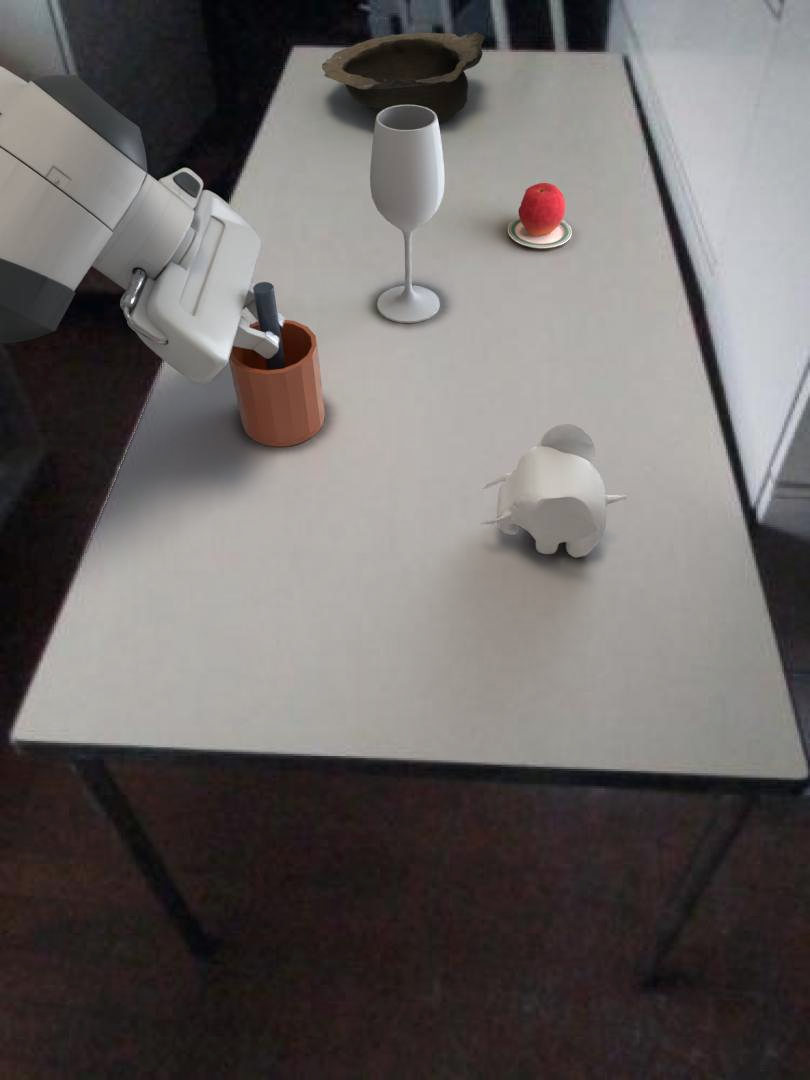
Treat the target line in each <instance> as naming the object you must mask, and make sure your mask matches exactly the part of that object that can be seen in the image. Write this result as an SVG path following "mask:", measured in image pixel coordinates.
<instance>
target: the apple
mask: <svg viewBox="0 0 810 1080" xmlns="http://www.w3.org/2000/svg"><path fill="white" fill-rule="evenodd" d="M517 211H518V217H517V218H515V219H513V220H512V221H511V222H509V224H508V226H507V234H508V236H509V238H510V239H511V240H513V241H514V242H515V243H517V244H519V245H521V246H525V247H528V248H533V249H550V248H556V247H559V246H562V245H563V244H564V245H565V243H567V242H568V241H569V240H570V239H571V237H572V233H573V231H572V227H571V225H570V224H568V222H566V221H565V220H563V219H564V216H565V213H566V201H565V197H564V194H563V192H562V191H561V190H560V189H559V187H558V186H557V185H555V184H552V183H549V182H539V183H537V184H533V185H530V186H529V187H528V188H526V189H525V192H524V194H523V197H522V200H521V201H520V206H519V207H518V210H517Z"/></svg>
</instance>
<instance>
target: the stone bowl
mask: <svg viewBox="0 0 810 1080" xmlns="http://www.w3.org/2000/svg"><path fill="white" fill-rule="evenodd" d="M484 40H486V39H485V36H484V34H481V33H479V32H477V31H476V32H474V33H471V34H467V33H466V34H465V33H464V34H463V35H462V36H458V35H457V34H455V33H449V32H447V33H440V32H439V33H437V32H415V33H399V34H388V35H383V36H381V37H375V38H371V39H368V40H365V41H362V42H358V43H356V44H354V45H352V46H349V47H346V48H343V49H341V50H337V51H336V52H334V53H333V54H332V55H331V57H330V58H327V59H326V60H325V61H324V62H323V63H321V69H322V71H324V75H323V76H324V77H326V78H328V79H331V80H333V81H335V82H338V83H339V84H343V85H345V88H346V89H347V93H349V95H350V96H351V98H352V99H354V101H356V102H357V103H360V104H361V105H363V106H366V107H367V108H369V107H370V108H375V109H381V110H384V109H386V108H389V107H392V106H397V105H418V106H423V107H426V108H428V109H431V110H432V111H433V112H435V114H436V115H437V119H438V124H439V123H442V122H444V121H447V120H449V119H452V118H453V117H454V116H455V115H456V113H457V112H460V111H461V110H462V109H464V107H465V105H466V103H467V102H468V91H469V82H468V81H469V80H468V77H467V74H466V72H465V71H466V70H469V69H472V68H474V67H476V66H477V65H478V64H479V63H480V61H481V59H482V57H483V54H484V53H483V50H482V44H483V43H484Z"/></svg>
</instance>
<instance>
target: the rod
mask: <svg viewBox="0 0 810 1080" xmlns="http://www.w3.org/2000/svg"><path fill="white" fill-rule="evenodd" d="M255 284H256V285H255V286H254V287H253V292H254V298H255V304H256V310H257V315H258V321H259V327H260V331H261V332H263V331H264V330H265V329H269V330H270V331H271V332H273V334H274V335H277V336H278V337H279V338H280V344H279V349H278V352H277V353H276V354H275V355H274V356H272V357H271V358H269V359H267V358H265V362H266V368H267V370H275V369H283V368H286V366H285V360H284V353H283V346H282V339H281V333H280V326H279V319H278V305H277V299H276V294H275V287H274V284H272V283H271V282H268V281H260V282H257V283H255ZM258 321H257V322H258Z"/></svg>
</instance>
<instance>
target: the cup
mask: <svg viewBox="0 0 810 1080" xmlns="http://www.w3.org/2000/svg"><path fill="white" fill-rule="evenodd" d="M258 326H259V322H258V321H256V322H253V323H250V325H249V327H250V328H253V329H256V330H258V331H260V329H259V328H258ZM280 333H281V339H282V346H283V353H284V360H285V366H286V368H283V369H275V370H267V368H266V362H265V358H264V357H263V356H262V355H260V354H259V353H257V352H256V351H255V350H253V349H252V350H251V349H246V348H241V347H236V346H232V350H231V353H230V357H229V361H228V364H229V366H230V367H229V368H230V373H231V377H232V381H233V387H234V391H235V396H236V400H237V404H238V410H239V414H240V420H241V424H242V426H243V429H244V432H245V434H247V436H248V437H249V438H251V439H252V440H253V441H254V442H257V443H258V444H261V445H264V446H268V447H277V448H283V447H284V448H285V447H290V446H291V447H292V446H295V445H299V444H302V443H304V442H306V441H308V440H310V439H311V438H313V437H314V436H316V435H317V434H318V433H319V431H321V429H322V427H323V425H324V423H325V418H326V412H325V402H324V395H323V394H324V393H323V384H322V377H321V375H322V374H321V368H320V367H321V366H320V357H319V349H318V343H317V341H318V340H317V335H316V334H315V333H314V332H313V331H312V330H311V329H310V328H309V326H307V325H304V324H302V323H300V322H298V321H296V320H291V319H285V322H284V326H283V330H282V331H281V332H280Z"/></svg>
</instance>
